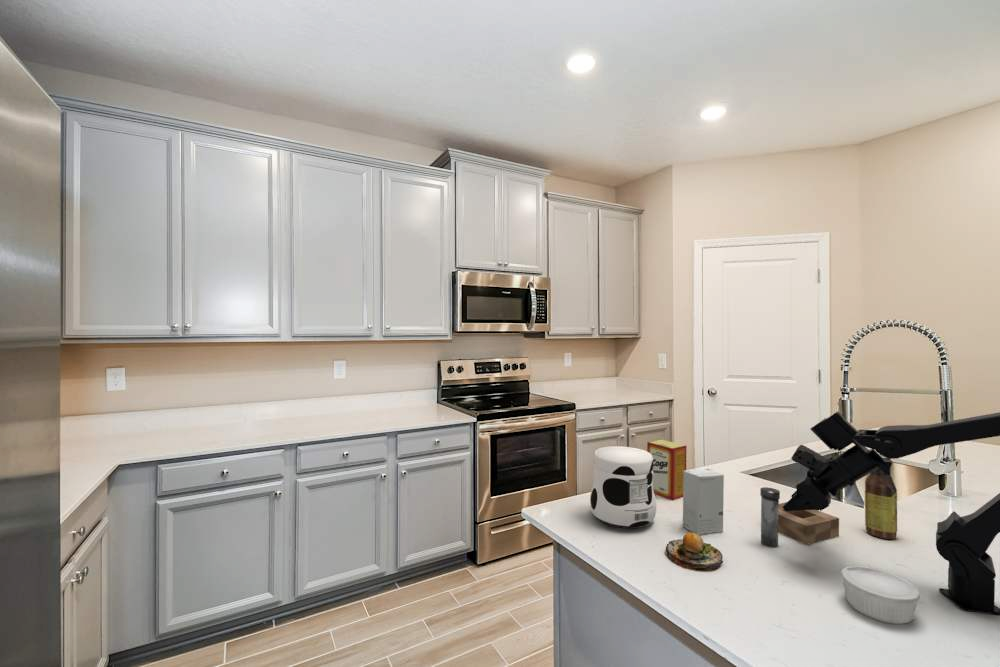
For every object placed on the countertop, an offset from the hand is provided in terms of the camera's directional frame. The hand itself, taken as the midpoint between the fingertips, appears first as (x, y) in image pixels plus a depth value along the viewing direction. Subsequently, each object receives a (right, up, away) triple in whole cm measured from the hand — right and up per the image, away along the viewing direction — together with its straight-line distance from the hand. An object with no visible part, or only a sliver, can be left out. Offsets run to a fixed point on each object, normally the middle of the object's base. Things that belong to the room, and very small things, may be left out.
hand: (788, 503), depth 106 cm
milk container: (-35, -11, +16) cm, 40 cm away
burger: (-24, -11, -3) cm, 27 cm away
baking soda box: (-16, -10, +36) cm, 40 cm away
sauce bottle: (+28, -11, +8) cm, 31 cm away
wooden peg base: (+9, -11, +10) cm, 17 cm away
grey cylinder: (-3, -11, +3) cm, 12 cm away
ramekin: (+3, -12, -22) cm, 25 cm away
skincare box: (-15, -11, +11) cm, 22 cm away
